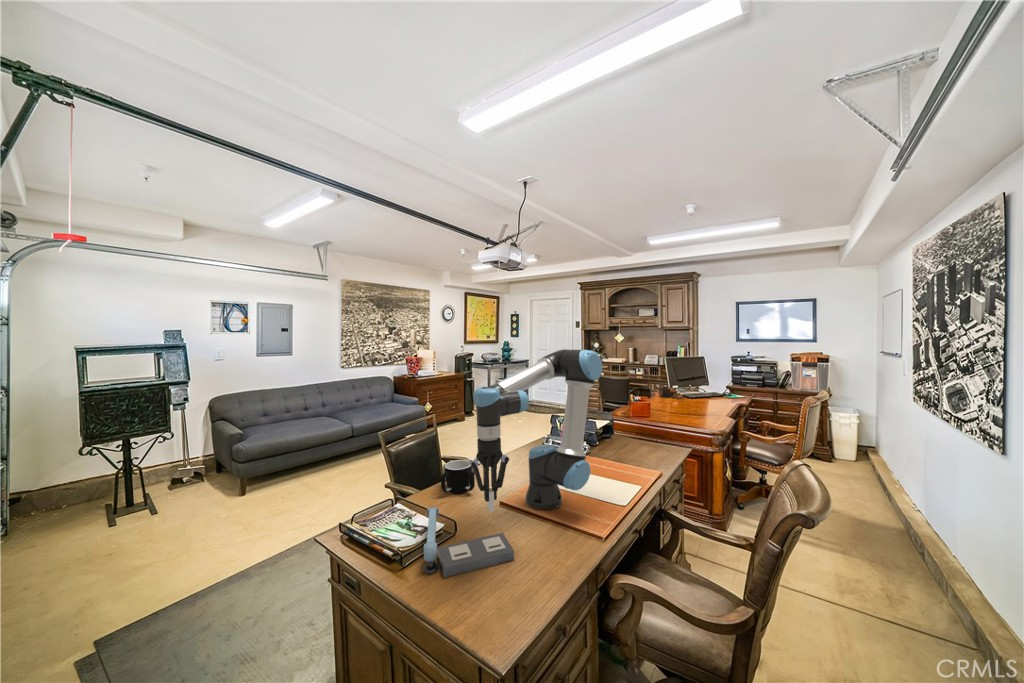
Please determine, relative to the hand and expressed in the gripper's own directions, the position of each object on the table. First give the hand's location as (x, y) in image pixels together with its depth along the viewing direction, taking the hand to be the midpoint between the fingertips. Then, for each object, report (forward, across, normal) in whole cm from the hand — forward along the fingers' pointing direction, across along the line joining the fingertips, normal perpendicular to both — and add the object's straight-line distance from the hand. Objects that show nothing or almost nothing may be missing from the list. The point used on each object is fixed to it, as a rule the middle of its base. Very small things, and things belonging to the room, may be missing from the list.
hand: (490, 510), depth 117 cm
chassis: (+15, -5, 0) cm, 15 cm away
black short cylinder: (+15, -19, 0) cm, 24 cm away
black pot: (+15, 0, +52) cm, 54 cm away
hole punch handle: (+11, -18, +12) cm, 24 cm away
